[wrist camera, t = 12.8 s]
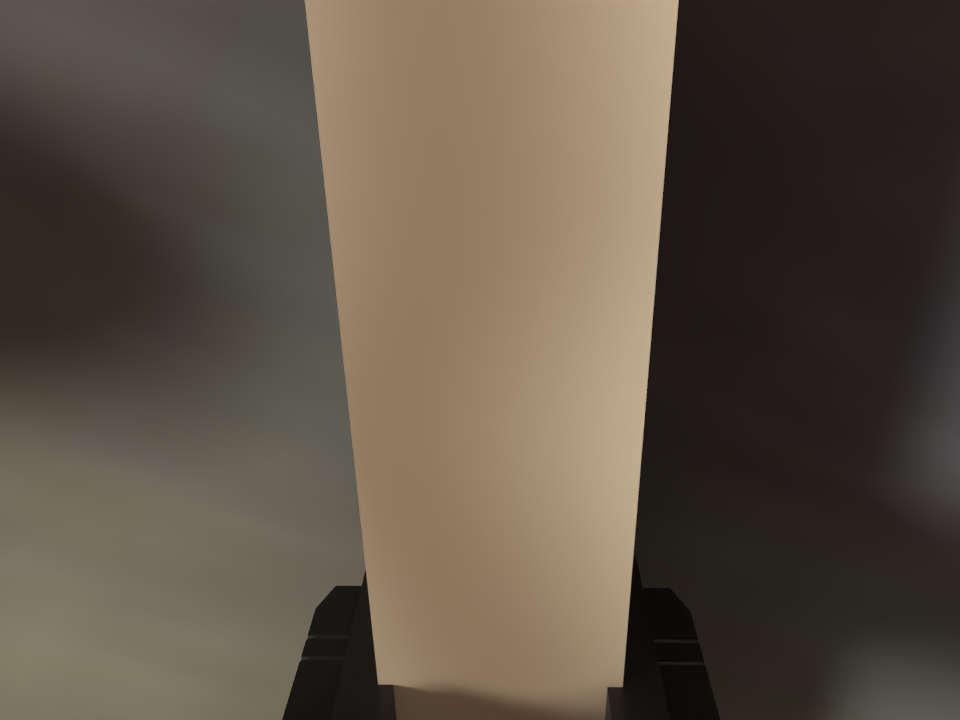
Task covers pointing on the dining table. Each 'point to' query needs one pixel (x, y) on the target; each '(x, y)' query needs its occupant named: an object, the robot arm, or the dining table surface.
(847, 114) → the dining table surface
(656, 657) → the robot arm
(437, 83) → the oak stick
